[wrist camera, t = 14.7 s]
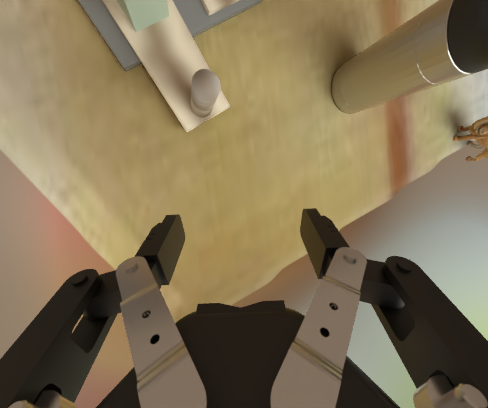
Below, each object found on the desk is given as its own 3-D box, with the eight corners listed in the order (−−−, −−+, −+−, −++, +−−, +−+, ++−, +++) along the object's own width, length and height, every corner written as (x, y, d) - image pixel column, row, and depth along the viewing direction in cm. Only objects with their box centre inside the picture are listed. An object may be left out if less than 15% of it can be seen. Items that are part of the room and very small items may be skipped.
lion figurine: (442, 135, 47) (498, 128, 39) (453, 116, 47) (511, 104, 39) (469, 165, 52) (524, 165, 43) (479, 148, 52) (536, 144, 43)
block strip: (128, -77, 24) (97, -206, 16) (229, 107, 31) (244, 85, 23) (67, -53, 23) (0, -179, 15) (186, 132, 30) (186, 118, 22)
